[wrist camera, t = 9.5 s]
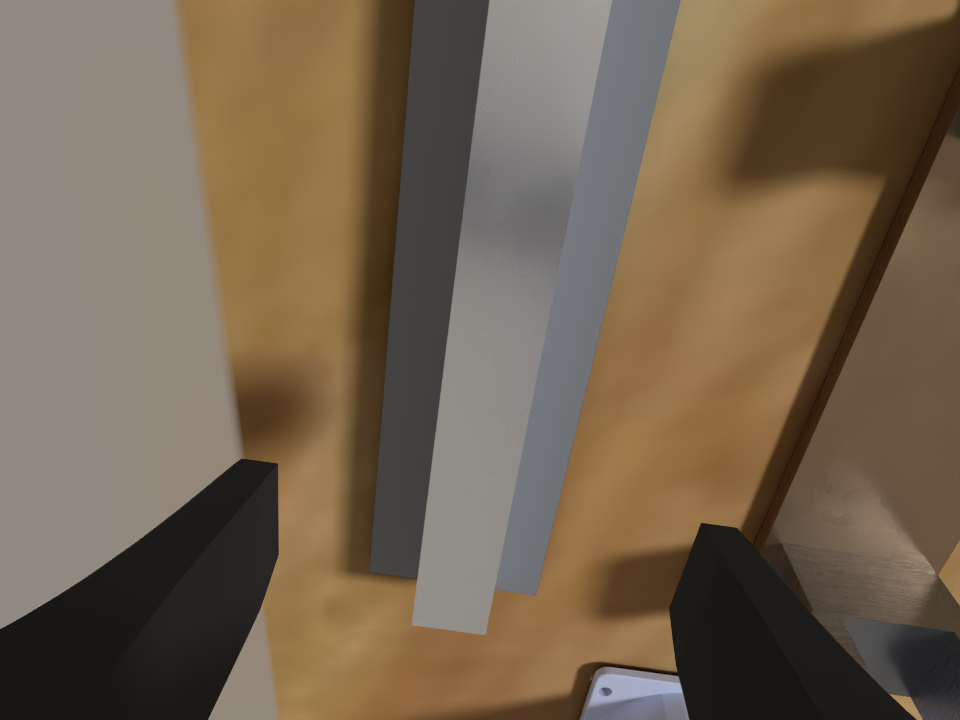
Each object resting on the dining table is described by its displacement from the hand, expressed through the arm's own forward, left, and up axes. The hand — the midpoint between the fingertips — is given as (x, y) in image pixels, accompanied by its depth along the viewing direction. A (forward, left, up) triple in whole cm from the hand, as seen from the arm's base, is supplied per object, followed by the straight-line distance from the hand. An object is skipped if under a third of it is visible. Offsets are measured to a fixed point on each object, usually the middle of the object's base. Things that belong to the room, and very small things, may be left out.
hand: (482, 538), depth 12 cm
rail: (0, 0, -9) cm, 9 cm away
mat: (0, 0, -9) cm, 9 cm away
